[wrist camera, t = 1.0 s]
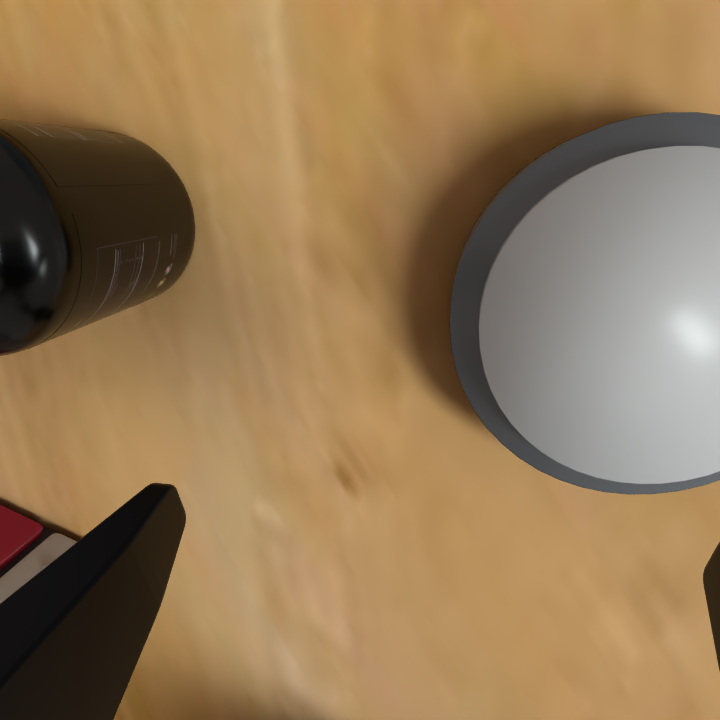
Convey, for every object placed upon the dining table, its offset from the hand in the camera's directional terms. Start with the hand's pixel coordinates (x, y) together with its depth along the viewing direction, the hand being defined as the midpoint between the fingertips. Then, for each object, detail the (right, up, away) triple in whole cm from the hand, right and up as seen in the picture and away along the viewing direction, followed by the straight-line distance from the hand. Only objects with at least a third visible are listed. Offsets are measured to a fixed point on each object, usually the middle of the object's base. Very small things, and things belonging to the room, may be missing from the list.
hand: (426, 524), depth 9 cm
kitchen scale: (+10, +4, +12) cm, 16 cm away
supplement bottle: (-11, +9, +14) cm, 20 cm away
